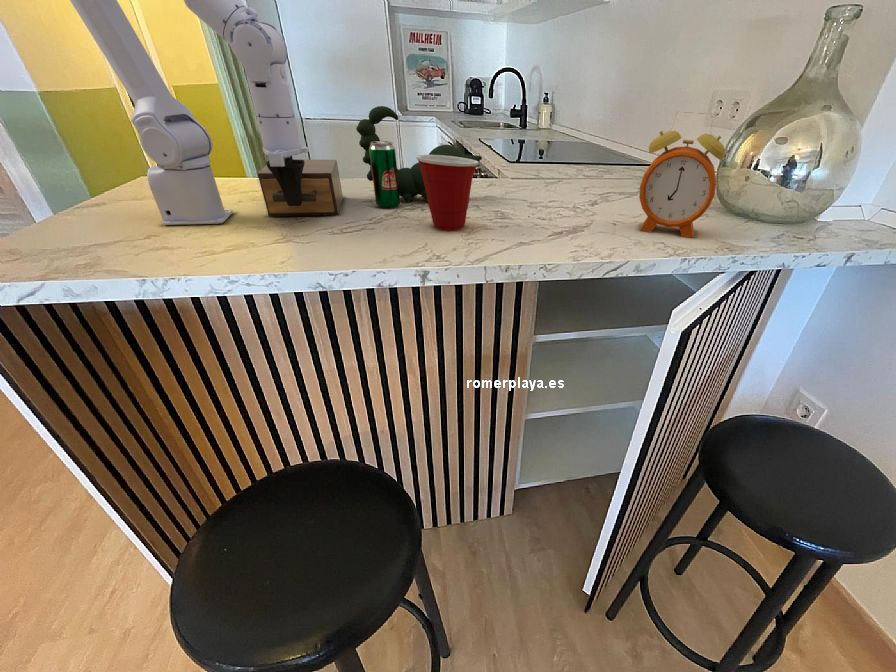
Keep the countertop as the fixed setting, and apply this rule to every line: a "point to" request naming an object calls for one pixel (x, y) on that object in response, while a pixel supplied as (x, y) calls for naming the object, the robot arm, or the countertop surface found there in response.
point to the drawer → (313, 196)
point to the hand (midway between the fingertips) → (295, 205)
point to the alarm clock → (679, 182)
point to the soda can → (384, 174)
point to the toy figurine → (407, 177)
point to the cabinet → (313, 171)
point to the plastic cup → (447, 188)
